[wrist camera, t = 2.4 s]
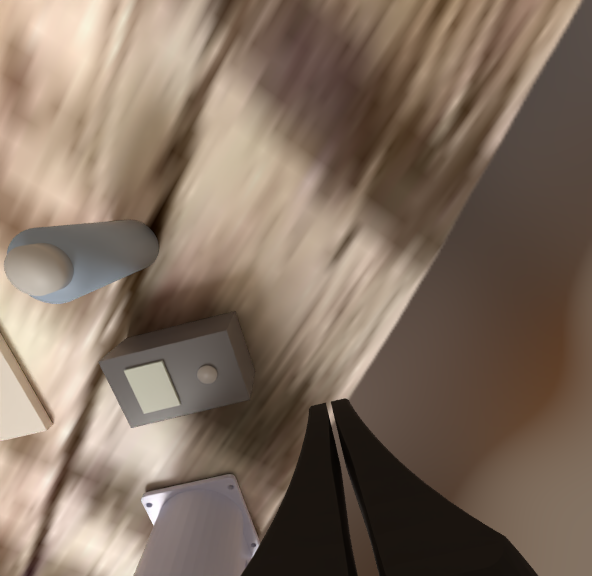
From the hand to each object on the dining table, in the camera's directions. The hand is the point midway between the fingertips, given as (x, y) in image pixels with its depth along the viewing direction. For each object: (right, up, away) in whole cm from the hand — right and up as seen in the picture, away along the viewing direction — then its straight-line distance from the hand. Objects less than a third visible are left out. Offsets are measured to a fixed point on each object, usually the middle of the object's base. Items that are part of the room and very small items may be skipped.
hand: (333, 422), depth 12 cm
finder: (-9, +1, +10) cm, 13 cm away
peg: (-12, +8, +7) cm, 16 cm away
